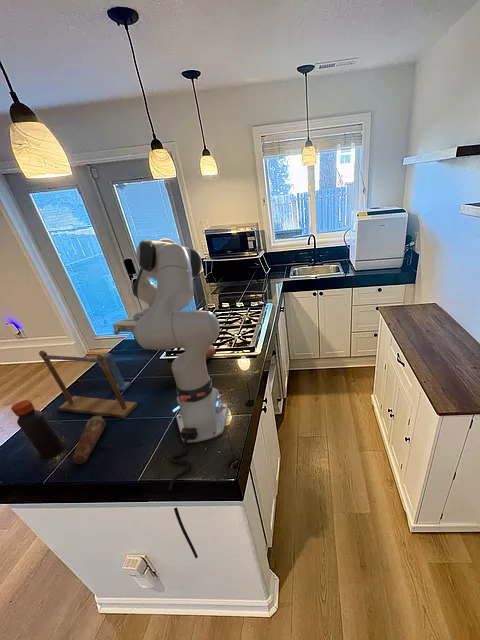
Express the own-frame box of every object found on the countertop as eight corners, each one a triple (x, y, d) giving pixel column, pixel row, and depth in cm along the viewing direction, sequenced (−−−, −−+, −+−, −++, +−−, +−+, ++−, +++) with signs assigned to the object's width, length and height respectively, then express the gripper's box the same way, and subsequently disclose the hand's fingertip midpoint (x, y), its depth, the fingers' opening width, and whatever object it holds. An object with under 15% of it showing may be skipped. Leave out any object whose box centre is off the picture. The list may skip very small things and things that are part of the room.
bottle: (69, 445, 108) (39, 399, 97) (52, 460, 103) (18, 412, 91) (54, 443, 110) (22, 397, 99) (37, 457, 104) (1, 410, 93)
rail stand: (137, 405, 125) (113, 349, 111) (124, 418, 118) (96, 360, 105) (75, 398, 133) (45, 345, 119) (60, 410, 126) (26, 355, 112)
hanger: (121, 383, 140) (107, 351, 131) (131, 384, 138) (117, 351, 129) (109, 393, 134) (93, 360, 125) (120, 394, 132) (104, 360, 123)
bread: (110, 425, 115) (103, 413, 112) (89, 465, 100) (81, 452, 96) (92, 428, 115) (85, 416, 112) (68, 468, 99) (60, 455, 96)
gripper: (122, 313, 147) (101, 326, 136) (160, 314, 142) (141, 327, 131) (127, 326, 151) (107, 339, 140) (164, 327, 146) (146, 341, 135)
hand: (124, 333), depth 136 cm, fingers open, 8 cm apart
